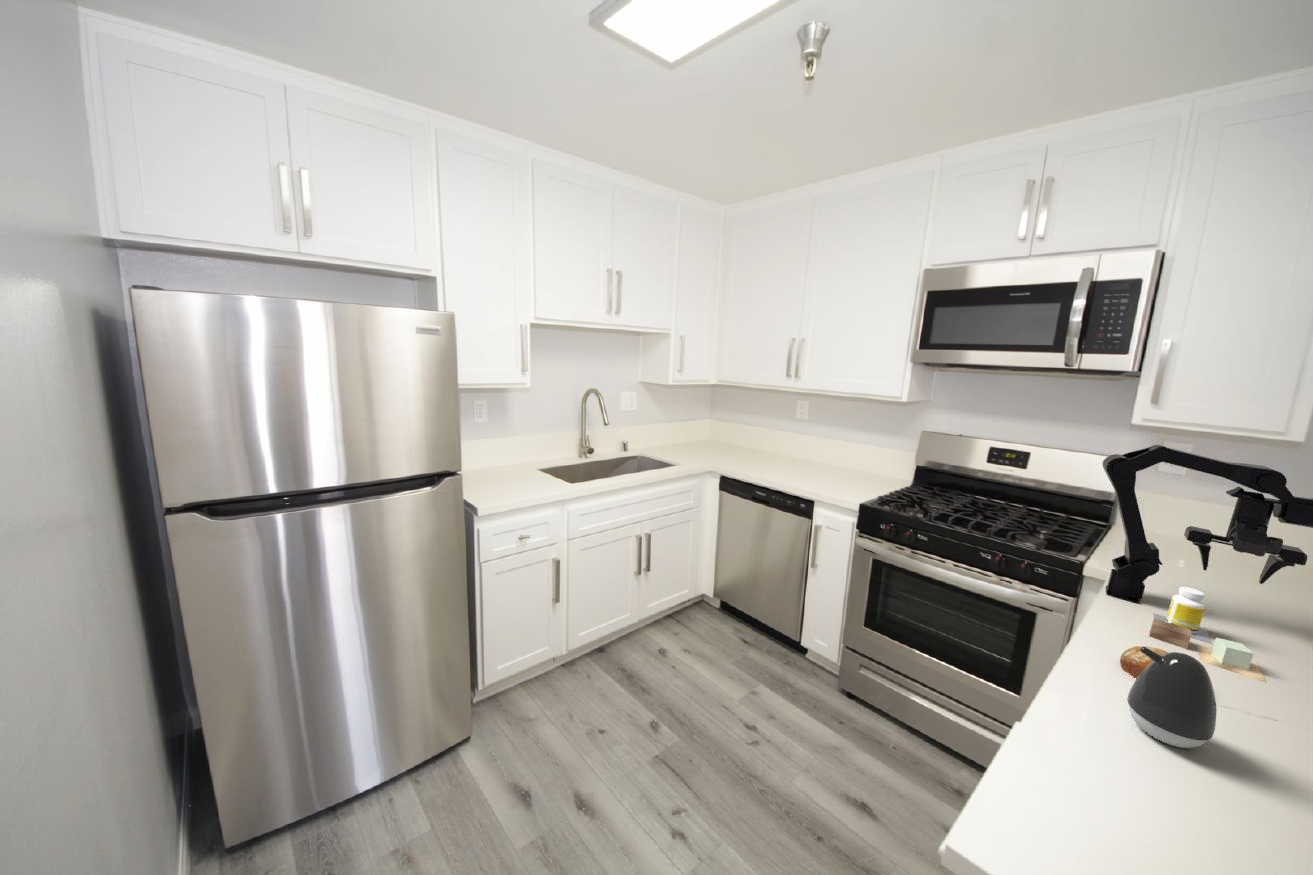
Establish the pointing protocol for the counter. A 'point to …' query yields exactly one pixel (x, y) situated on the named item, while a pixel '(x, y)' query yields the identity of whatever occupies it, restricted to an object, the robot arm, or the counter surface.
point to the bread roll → (1137, 660)
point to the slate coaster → (1200, 635)
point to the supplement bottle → (1186, 609)
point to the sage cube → (1232, 654)
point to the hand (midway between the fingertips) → (1231, 576)
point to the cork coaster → (1210, 659)
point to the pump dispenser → (1174, 700)
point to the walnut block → (1170, 633)
